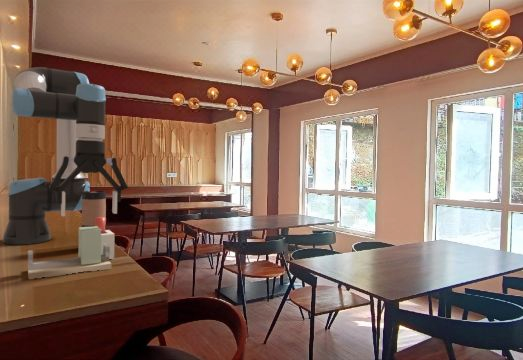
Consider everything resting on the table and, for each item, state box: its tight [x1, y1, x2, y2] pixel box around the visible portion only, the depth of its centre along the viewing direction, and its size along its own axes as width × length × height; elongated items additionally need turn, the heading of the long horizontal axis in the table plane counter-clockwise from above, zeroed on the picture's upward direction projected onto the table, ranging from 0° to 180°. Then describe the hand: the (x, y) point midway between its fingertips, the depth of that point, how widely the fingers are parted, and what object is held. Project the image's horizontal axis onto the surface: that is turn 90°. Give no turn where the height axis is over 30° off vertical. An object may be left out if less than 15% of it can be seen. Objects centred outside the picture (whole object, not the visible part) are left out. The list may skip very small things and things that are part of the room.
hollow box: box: [101, 229, 115, 260], centre depth 117 cm, size 8×7×8 cm
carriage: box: [77, 226, 101, 265], centre depth 106 cm, size 6×5×10 cm
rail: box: [27, 244, 112, 280], centre depth 104 cm, size 9×20×6 cm, turn 124°
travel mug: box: [81, 190, 107, 230], centre depth 129 cm, size 8×8×20 cm
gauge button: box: [95, 217, 105, 234], centre depth 117 cm, size 3×3×5 cm
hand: (89, 214), depth 106 cm, fingers open, 13 cm apart
